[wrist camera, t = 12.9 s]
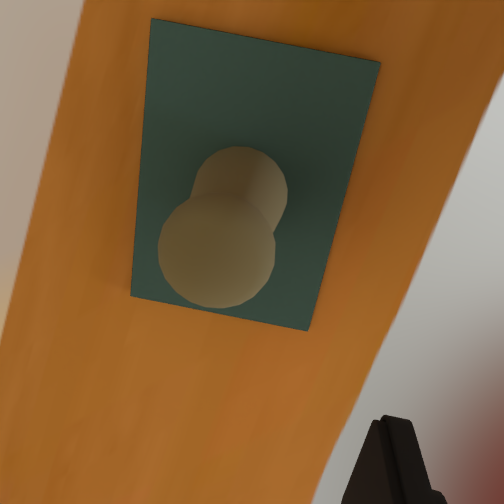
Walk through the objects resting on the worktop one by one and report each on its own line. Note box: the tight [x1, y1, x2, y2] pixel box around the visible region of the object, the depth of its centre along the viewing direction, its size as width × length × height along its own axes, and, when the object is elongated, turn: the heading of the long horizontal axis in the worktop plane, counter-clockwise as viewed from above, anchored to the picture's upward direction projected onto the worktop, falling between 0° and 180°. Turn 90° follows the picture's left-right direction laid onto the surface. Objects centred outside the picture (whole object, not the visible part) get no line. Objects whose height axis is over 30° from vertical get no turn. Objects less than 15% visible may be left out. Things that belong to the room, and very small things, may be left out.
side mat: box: [130, 18, 381, 331], centre depth 29 cm, size 13×18×1 cm
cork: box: [158, 146, 288, 308], centre depth 23 cm, size 6×6×11 cm
